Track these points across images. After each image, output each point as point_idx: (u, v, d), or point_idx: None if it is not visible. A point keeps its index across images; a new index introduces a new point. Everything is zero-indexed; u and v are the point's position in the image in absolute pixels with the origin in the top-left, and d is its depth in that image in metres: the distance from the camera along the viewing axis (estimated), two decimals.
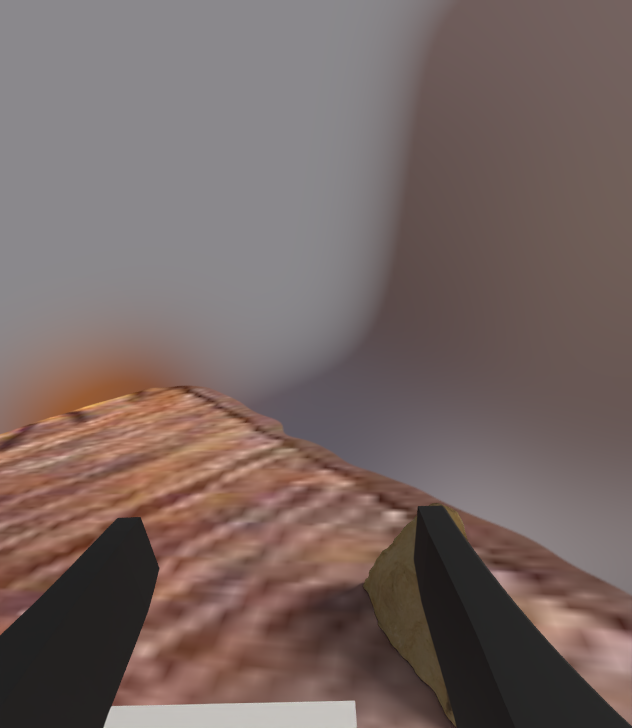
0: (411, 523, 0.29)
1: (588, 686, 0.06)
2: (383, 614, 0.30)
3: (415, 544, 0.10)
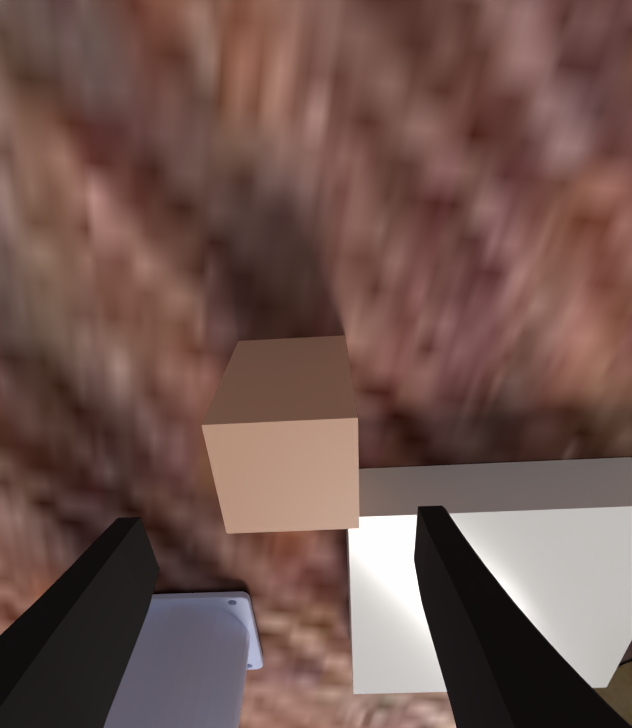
0: None
1: (588, 686, 0.06)
2: None
3: (415, 544, 0.10)
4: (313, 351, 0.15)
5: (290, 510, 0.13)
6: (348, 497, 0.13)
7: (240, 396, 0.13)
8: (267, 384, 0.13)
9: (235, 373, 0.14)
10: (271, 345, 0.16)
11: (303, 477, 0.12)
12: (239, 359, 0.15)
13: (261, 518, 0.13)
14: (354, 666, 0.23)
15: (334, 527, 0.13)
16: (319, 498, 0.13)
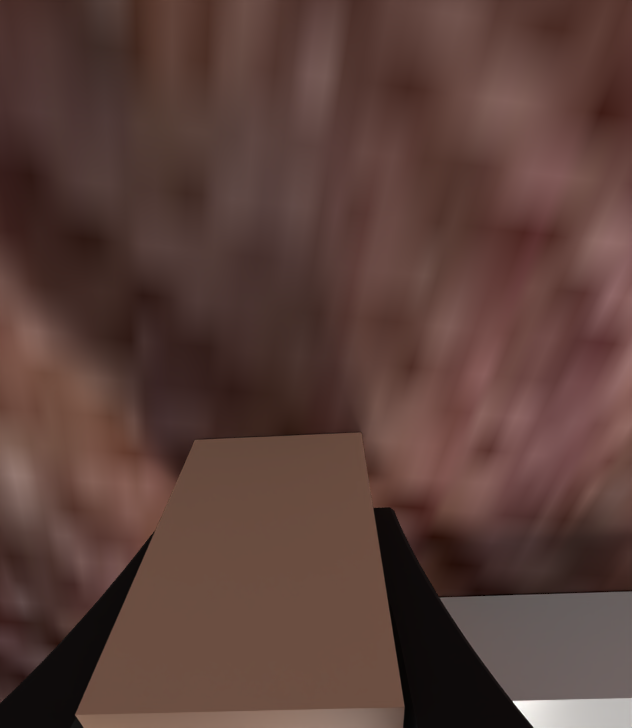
0: None
1: (499, 688, 0.06)
2: None
3: None
4: (311, 472, 0.09)
5: None
6: None
7: (172, 607, 0.07)
8: (226, 567, 0.07)
9: (175, 529, 0.08)
10: (245, 453, 0.10)
11: None
12: (189, 488, 0.09)
13: None
14: None
15: None
16: None
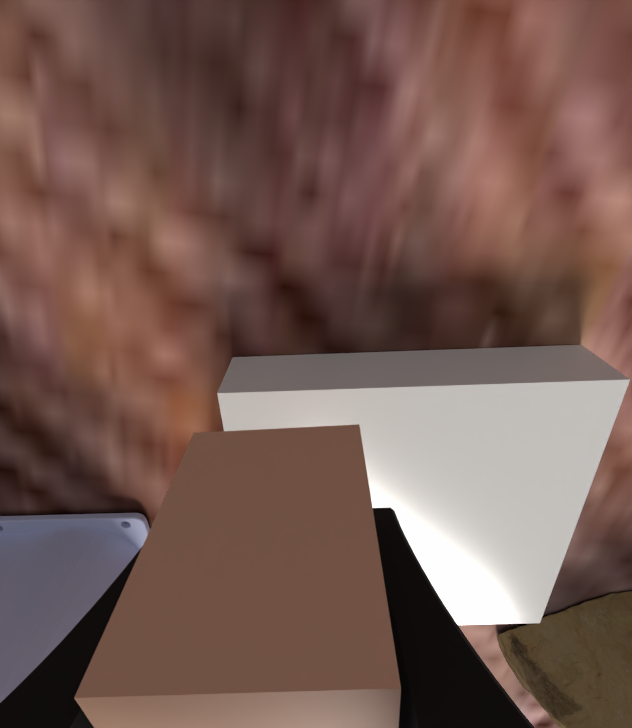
0: None
1: (499, 688, 0.06)
2: (623, 615, 0.24)
3: None
4: (309, 463, 0.09)
5: None
6: None
7: (171, 594, 0.07)
8: (225, 556, 0.07)
9: (174, 518, 0.08)
10: (244, 445, 0.10)
11: None
12: (187, 479, 0.09)
13: None
14: None
15: None
16: None
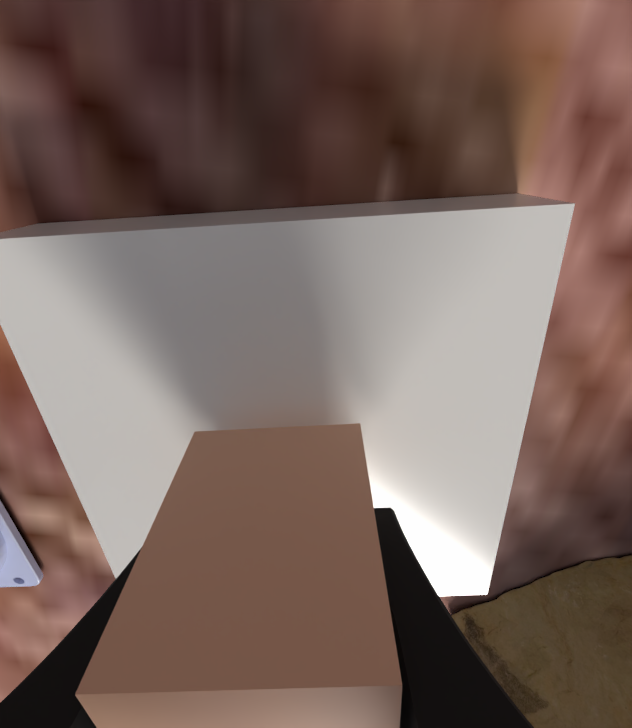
0: None
1: (499, 688, 0.06)
2: (601, 586, 0.19)
3: None
4: (310, 461, 0.09)
5: None
6: None
7: (172, 591, 0.07)
8: (226, 553, 0.07)
9: (175, 516, 0.08)
10: (245, 443, 0.10)
11: None
12: (188, 478, 0.09)
13: None
14: (108, 557, 0.15)
15: None
16: None
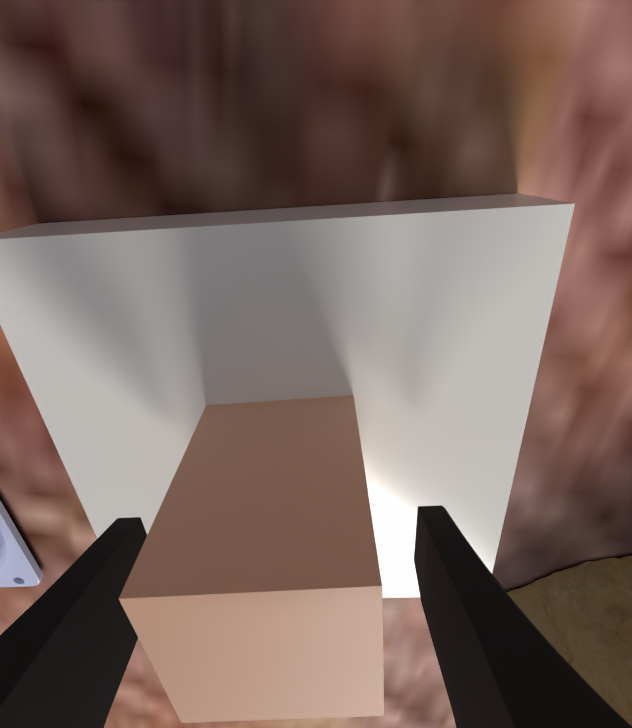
0: None
1: (588, 686, 0.06)
2: (601, 587, 0.19)
3: (415, 544, 0.10)
4: (309, 427, 0.11)
5: (276, 697, 0.08)
6: (367, 682, 0.08)
7: (193, 526, 0.08)
8: (237, 498, 0.09)
9: (192, 472, 0.10)
10: (251, 414, 0.12)
11: (293, 660, 0.08)
12: (202, 442, 0.11)
13: (233, 706, 0.09)
14: None
15: (344, 712, 0.09)
16: (321, 683, 0.08)
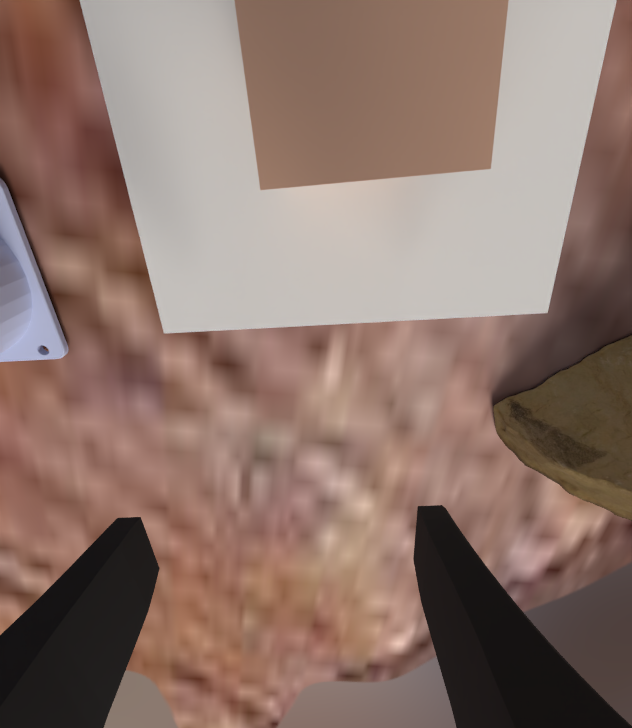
0: None
1: (588, 686, 0.06)
2: None
3: (415, 544, 0.10)
4: None
5: (373, 124, 0.07)
6: (481, 80, 0.07)
7: None
8: None
9: None
10: None
11: (402, 23, 0.07)
12: None
13: (322, 147, 0.08)
14: (146, 254, 0.14)
15: (445, 172, 0.08)
16: (427, 87, 0.07)
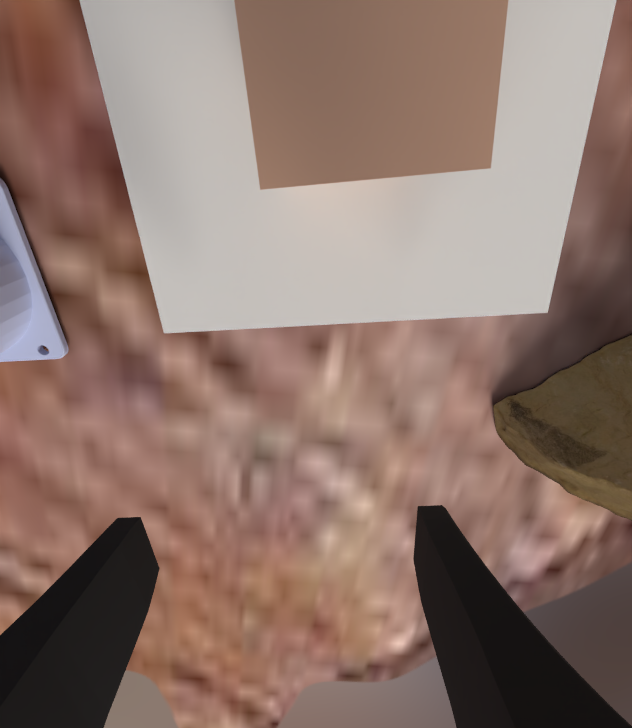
0: None
1: (587, 686, 0.06)
2: None
3: (415, 544, 0.10)
4: None
5: (373, 123, 0.07)
6: (481, 80, 0.07)
7: None
8: None
9: None
10: None
11: (402, 22, 0.07)
12: None
13: (322, 146, 0.08)
14: (146, 254, 0.14)
15: (445, 172, 0.08)
16: (427, 87, 0.07)
